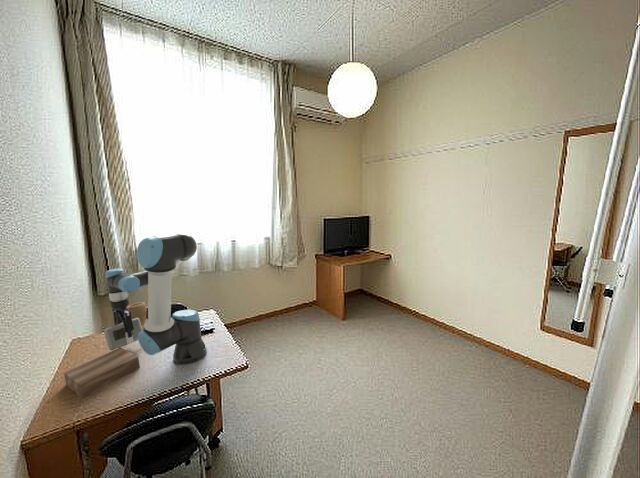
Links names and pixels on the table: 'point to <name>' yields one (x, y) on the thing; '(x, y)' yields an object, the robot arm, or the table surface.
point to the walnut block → (101, 371)
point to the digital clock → (121, 334)
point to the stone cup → (138, 312)
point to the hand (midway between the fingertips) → (126, 340)
